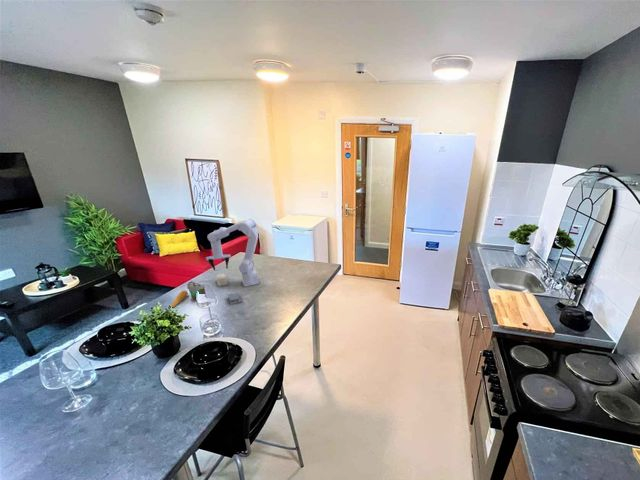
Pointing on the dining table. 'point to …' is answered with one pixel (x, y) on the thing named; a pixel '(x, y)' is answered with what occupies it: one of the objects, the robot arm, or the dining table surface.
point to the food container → (195, 289)
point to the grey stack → (234, 298)
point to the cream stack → (222, 282)
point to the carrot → (179, 298)
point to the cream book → (221, 277)
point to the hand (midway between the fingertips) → (220, 268)
